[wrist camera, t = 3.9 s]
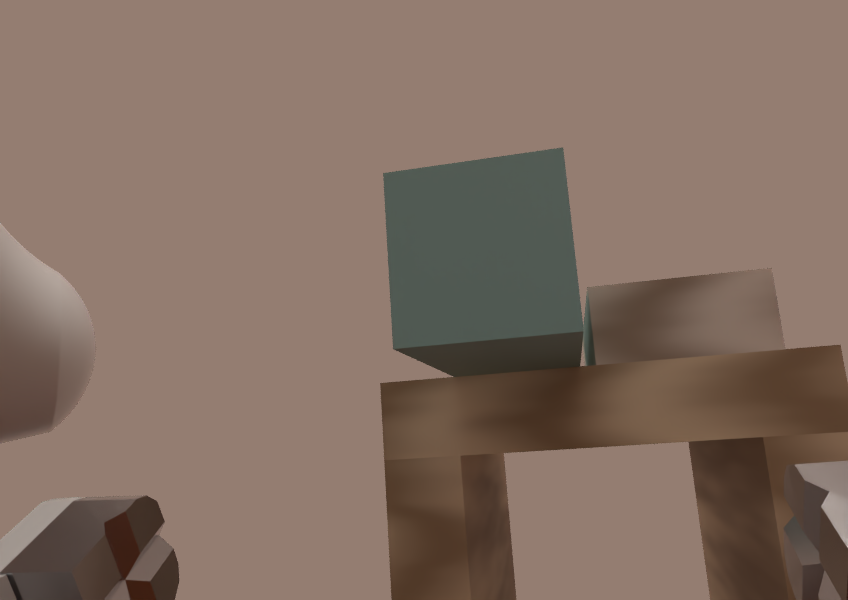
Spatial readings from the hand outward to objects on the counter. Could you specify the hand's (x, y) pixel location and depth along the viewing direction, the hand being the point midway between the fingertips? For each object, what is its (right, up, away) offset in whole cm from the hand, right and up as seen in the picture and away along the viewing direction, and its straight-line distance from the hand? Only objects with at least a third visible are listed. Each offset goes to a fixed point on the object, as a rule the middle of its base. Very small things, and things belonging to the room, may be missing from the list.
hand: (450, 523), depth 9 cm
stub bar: (+3, 0, +15) cm, 15 cm away
